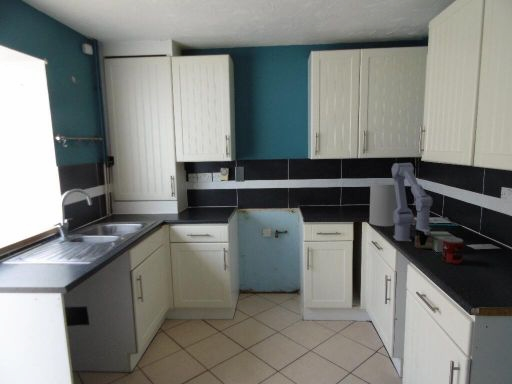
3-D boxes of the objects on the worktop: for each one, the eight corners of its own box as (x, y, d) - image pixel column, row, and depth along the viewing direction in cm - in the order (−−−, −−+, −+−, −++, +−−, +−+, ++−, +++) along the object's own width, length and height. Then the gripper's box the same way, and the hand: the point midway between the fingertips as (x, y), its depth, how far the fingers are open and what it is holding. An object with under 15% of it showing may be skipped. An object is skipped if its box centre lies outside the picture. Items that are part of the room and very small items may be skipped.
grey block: (425, 244, 179) (425, 231, 178) (446, 244, 178) (447, 231, 176) (435, 253, 165) (436, 238, 164) (458, 253, 164) (459, 239, 163)
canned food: (443, 257, 159) (444, 235, 157) (462, 261, 154) (464, 238, 152) (440, 262, 153) (441, 239, 151) (460, 266, 148) (461, 242, 146)
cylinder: (398, 226, 217) (400, 184, 213) (371, 225, 221) (372, 184, 217) (393, 220, 234) (394, 181, 230) (367, 219, 238) (368, 181, 234)
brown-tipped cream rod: (414, 246, 174) (415, 235, 173) (442, 247, 172) (443, 236, 171) (416, 248, 172) (416, 236, 171) (444, 248, 170) (445, 237, 169)
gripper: (436, 222, 163) (435, 249, 165) (425, 216, 177) (424, 240, 179) (421, 222, 164) (420, 248, 166) (412, 216, 178) (411, 240, 180)
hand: (421, 244), depth 173 cm, fingers closed on brown-tipped cream rod, 2 cm apart
